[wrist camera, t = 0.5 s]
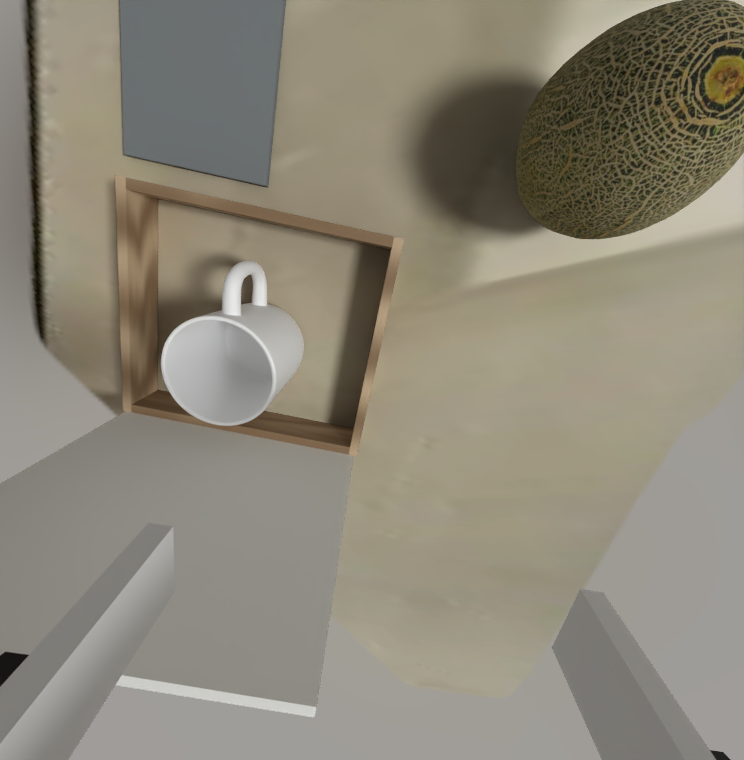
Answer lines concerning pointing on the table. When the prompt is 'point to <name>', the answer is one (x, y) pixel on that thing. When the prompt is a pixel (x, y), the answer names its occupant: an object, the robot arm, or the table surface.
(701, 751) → the robot arm
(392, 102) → the table surface
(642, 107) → the fruit
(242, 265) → the cup
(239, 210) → the frame
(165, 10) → the mat
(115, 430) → the lid
